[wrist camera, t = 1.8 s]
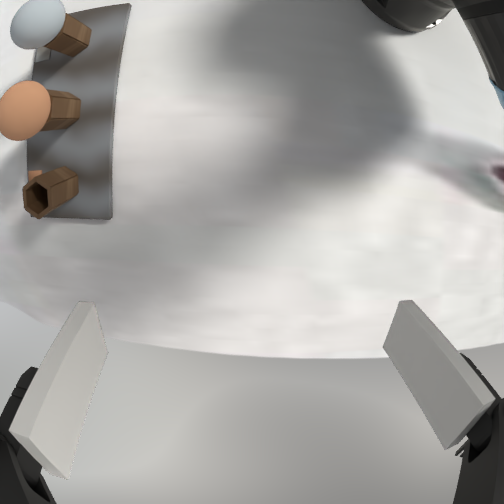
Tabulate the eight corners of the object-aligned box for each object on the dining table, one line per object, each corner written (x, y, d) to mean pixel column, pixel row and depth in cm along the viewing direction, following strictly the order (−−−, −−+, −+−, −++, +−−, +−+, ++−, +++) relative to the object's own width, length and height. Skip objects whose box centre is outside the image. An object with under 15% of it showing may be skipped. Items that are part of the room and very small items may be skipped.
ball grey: (36, 11, 16) (8, -2, 11) (80, -1, 17) (55, -20, 12) (25, 58, 19) (-7, 51, 13) (68, 47, 19) (39, 35, 14)
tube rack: (46, 22, 22) (16, 8, 15) (131, 5, 24) (111, -19, 17) (34, 214, 33) (3, 235, 26) (112, 217, 35) (88, 240, 28)
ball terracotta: (21, 87, 20) (-12, 85, 15) (63, 78, 21) (32, 72, 15) (17, 140, 22) (-16, 147, 17) (59, 135, 23) (26, 140, 18)
